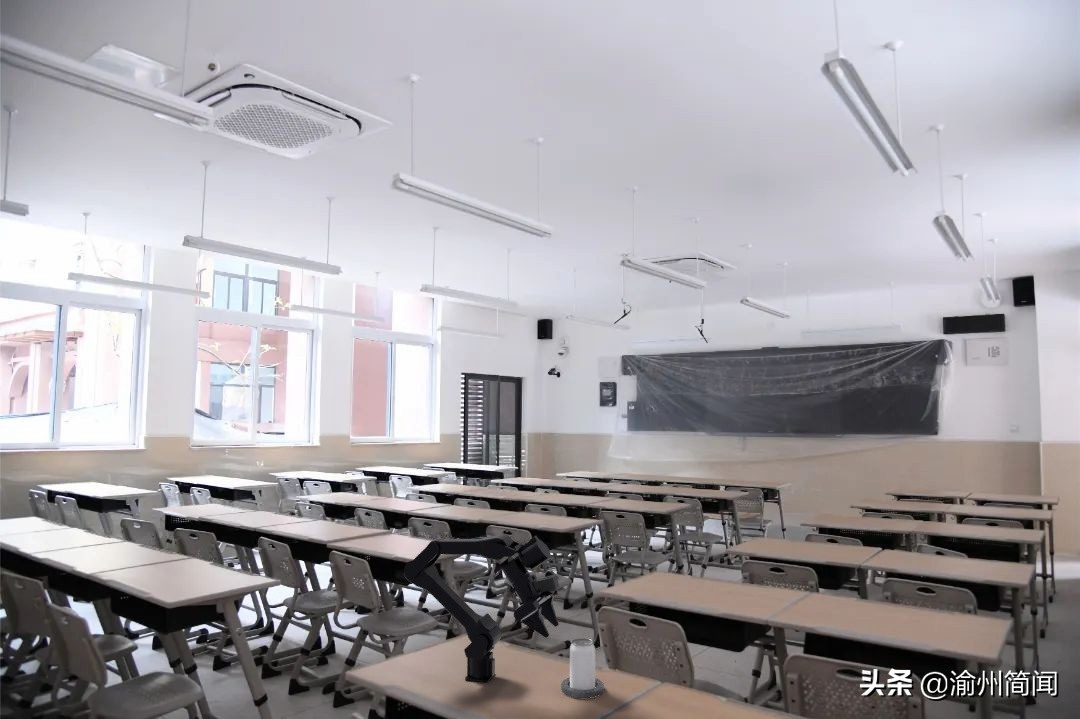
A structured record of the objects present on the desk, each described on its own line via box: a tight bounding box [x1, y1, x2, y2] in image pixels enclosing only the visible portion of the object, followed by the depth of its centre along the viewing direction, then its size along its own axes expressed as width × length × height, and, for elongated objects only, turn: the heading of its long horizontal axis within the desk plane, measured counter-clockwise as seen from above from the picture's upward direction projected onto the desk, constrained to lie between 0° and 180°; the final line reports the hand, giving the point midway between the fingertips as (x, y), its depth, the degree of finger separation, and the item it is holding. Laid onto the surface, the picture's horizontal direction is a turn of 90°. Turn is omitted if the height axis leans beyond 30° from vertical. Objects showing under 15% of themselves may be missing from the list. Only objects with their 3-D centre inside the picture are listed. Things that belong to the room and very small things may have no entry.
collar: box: [560, 676, 605, 699], centre depth 175 cm, size 10×10×2 cm
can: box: [569, 637, 596, 690], centre depth 176 cm, size 6×6×12 cm
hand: (552, 631), depth 179 cm, fingers open, 9 cm apart
